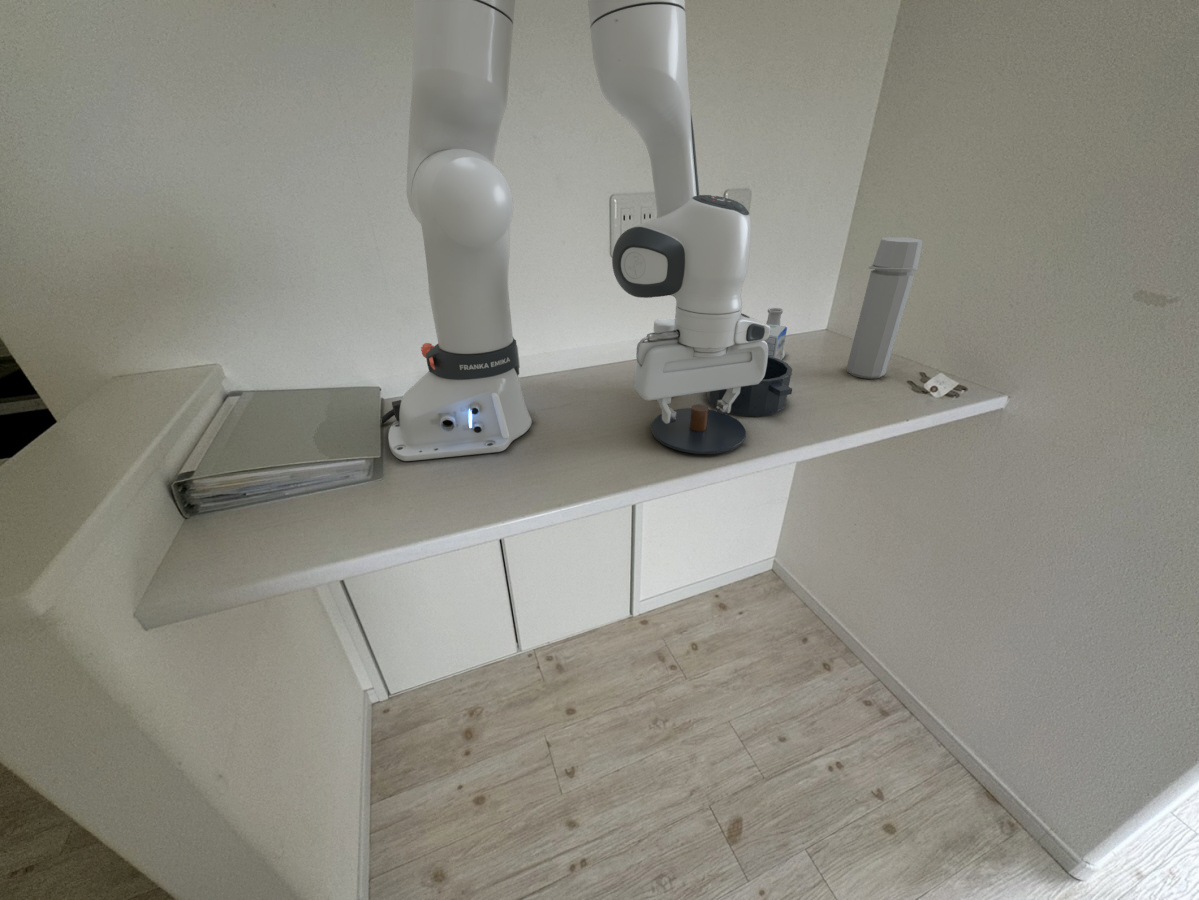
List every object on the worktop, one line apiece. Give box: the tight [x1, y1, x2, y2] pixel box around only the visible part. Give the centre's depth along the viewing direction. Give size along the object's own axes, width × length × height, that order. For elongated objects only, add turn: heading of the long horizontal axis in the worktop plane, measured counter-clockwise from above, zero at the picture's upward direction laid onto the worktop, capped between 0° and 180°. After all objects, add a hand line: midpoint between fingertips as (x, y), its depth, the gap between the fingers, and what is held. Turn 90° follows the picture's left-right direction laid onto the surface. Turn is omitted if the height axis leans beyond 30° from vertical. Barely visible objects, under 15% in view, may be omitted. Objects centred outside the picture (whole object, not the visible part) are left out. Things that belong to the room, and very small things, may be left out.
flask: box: [765, 307, 786, 359], centre depth 107 cm, size 7×7×10 cm
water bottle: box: [846, 236, 924, 380], centre depth 94 cm, size 9×8×25 cm
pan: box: [706, 356, 793, 418], centre depth 88 cm, size 14×19×6 cm
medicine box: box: [764, 325, 788, 361], centre depth 99 cm, size 8×4×9 cm, turn 150°
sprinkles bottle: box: [653, 317, 675, 333], centre depth 89 cm, size 5×5×13 cm
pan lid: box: [650, 403, 747, 455], centre depth 77 cm, size 15×15×5 cm
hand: (696, 416), depth 76 cm, fingers open, 8 cm apart
